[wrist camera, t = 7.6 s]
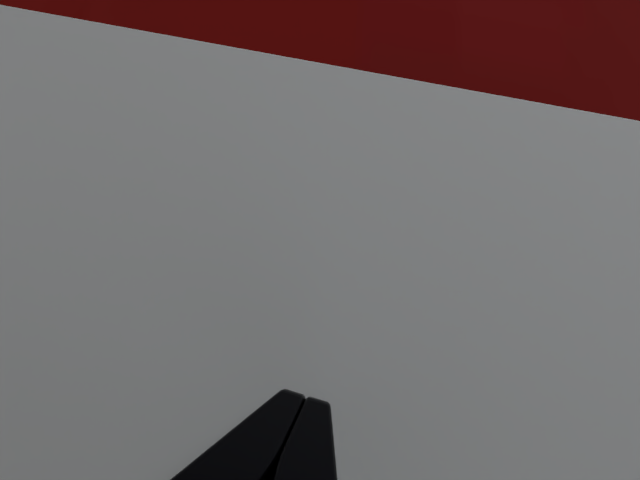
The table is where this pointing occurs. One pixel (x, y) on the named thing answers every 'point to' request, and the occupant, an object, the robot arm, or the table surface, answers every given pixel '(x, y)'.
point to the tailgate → (306, 263)
